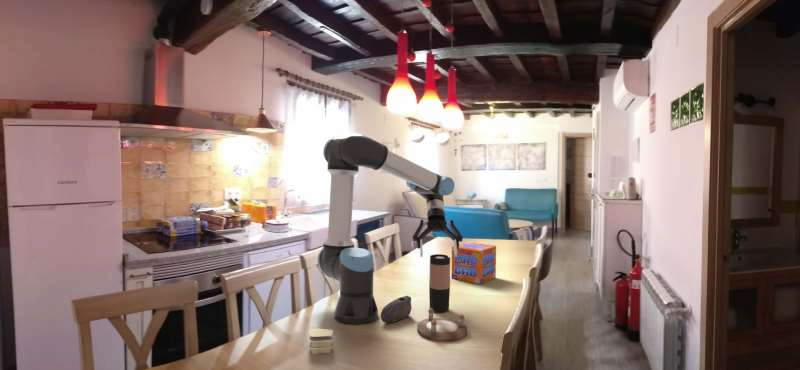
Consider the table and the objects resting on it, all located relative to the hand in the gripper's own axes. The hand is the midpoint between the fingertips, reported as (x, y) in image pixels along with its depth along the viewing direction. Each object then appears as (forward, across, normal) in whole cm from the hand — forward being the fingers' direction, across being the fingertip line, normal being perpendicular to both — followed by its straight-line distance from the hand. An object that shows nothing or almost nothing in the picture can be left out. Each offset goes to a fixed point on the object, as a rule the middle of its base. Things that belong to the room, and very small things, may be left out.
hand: (438, 255), depth 163 cm
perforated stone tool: (+27, +16, +1) cm, 32 cm away
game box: (-11, -20, -38) cm, 44 cm away
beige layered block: (+44, +38, +18) cm, 61 cm away
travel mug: (+20, 0, -6) cm, 21 cm away
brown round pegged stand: (+34, +2, +8) cm, 35 cm away
